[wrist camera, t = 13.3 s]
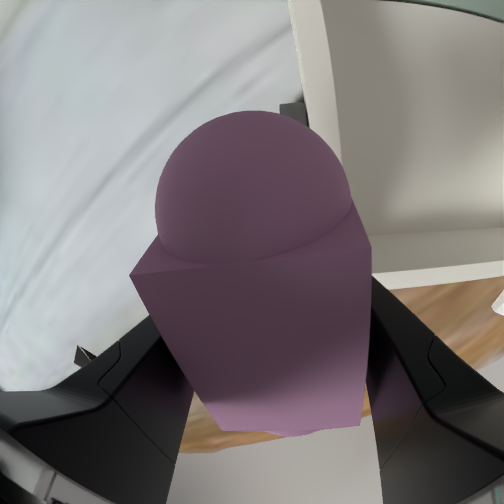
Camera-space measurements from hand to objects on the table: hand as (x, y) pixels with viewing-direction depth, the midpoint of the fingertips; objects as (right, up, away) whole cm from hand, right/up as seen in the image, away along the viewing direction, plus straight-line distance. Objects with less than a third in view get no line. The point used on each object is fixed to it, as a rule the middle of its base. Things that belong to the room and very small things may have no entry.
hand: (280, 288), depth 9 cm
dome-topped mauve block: (0, +1, +1) cm, 1 cm away
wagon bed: (+10, +9, +6) cm, 15 cm away
